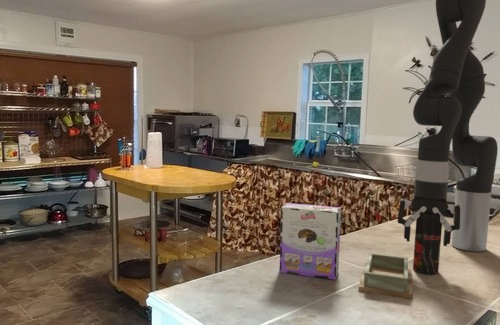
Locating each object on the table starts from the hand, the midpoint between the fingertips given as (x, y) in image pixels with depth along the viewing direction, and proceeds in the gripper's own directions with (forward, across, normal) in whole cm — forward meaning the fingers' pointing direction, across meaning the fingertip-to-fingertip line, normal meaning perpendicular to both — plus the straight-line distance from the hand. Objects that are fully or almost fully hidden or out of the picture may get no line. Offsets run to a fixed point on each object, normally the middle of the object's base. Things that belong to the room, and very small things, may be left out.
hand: (426, 243), depth 107 cm
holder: (+7, +8, +11) cm, 16 cm away
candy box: (+8, +26, +13) cm, 30 cm away
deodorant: (+7, 0, 0) cm, 7 cm away
